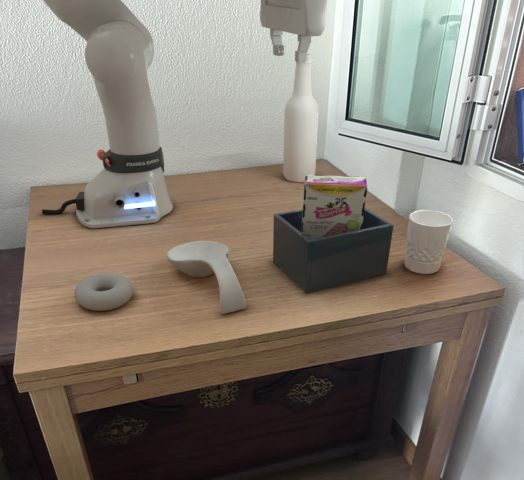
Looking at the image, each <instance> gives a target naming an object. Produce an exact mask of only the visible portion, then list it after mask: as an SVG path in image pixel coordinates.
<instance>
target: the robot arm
mask: <svg viewBox="0 0 524 480" xmlns="http://www.w3.org/2000/svg"><path fill="white" fill-rule="evenodd" d="M42 1H43V2H44V4H45V5H46V6H47V7H48V8H49V9H50V10H51V12H52V13H53V14H54V15H55V16H56V18H57V19H58V20H60V21H61V22H62V23H64V24H66V25H67V26H68V27H70V29H72V30H73V31H74V32H76V34H78V35H79V36H80V37H81V38H82V39H83V40H85V41H86V45H85V49H84V59H85V64H86V66H87V69H88V70H89V73H90V74H91V76H92V79H93V83H94V86H95V89H96V92H97V95H98V98H99V101H100V104H101V108H102V111H103V115H104V121H105V126H106V133H107V139H108V144H109V145H108V146H109V149H108V150H107V151H105V150H104V149H98V150H97V152H96V156H97V157H98V159H99V160H100V161H102V165H103V168H102V169H101V170H100V171H99V172H98V173H97V174H96V175H95V176H94V177H93V178H92V179H91V180H90V181H89V182H88V183H87V184H86V186H85V187H84V191H78V193H77V195H76V197H75V198H73V199H69V200H66V201H64V202H63V203H62V204H61V206H60V208H58V209H43V208H42V209H41V213H42V214H43V215H59V214H62V213H64V212H65V211H66V208H67V207H68V206H71V205H73V204H75V206H76V211H75V212H76V213H75V214H76V218H77V221H78V222H79V223H80V224H81V225H82V226H84V227H86V228H89V229H103V228H112V227H113V228H114V227H124V226H125V227H126V226H133V225H134V226H135V225H145V224H146V225H147V224H154V223H158V222H159V221H160V220H161V218H162V217H164V216H166V215H168V214H169V213H171V212H172V211H173V209H174V205H173V202H172V200H171V197H170V194H169V190H168V187H167V186H168V185H167V182H166V178H165V159H164V151H163V147H161V144H160V134H159V124H158V116H157V109H156V106H155V104H154V101H153V97H152V96H153V95H152V92H151V88H150V83H149V79H148V69H149V68H150V67H151V65H152V63H153V61H154V59H155V58H154V57H155V42H154V39H153V36H152V34H151V32H150V30H149V28H147V26H145V25H144V24H143V23H142V22H141V20H140V19H139V18H138V17H137V16H136V15H135V14H134V13H133V11H132V10H130V8H129V7H128V6H127V5H126V4H125V3H124V2H123V0H42ZM327 9H328V0H260V9H259V20H260V24H261V27H262V28H264V29H265V28H266V29H269V36H270V39H271V45H272V54H273V55H274V56H275V57H283V56H284V55H285V45H283V38H282V36H283V33H287V34H288V33H289V34H293V35H297V42H298V44H297V50H294V61H296V62H299V63H303V62H306V60H307V54H308V51H309V48H310V46H311V43H312V37H321V36H322V35H323V33H324V31H325V27H326V23H327V22H326V21H327V11H328V10H327ZM296 62H295V63H296Z"/></svg>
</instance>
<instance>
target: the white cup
mask: <svg viewBox="0 0 524 480" xmlns="http://www.w3.org/2000/svg"><path fill="white" fill-rule="evenodd" d="M453 222H454V218H453V217H452V216H451V215H449V214H448V213H445V212H443V211H438V210H434V209H433V210H432V209H420V210H415V211H412V212H411V213H409V216H408V223H407V231H406V238H405V239H406V240H405V255H404V260H403V261H404V262H403V264H404V267H405V268H406V269H407V270H408V271H410V272H412V273H416V274H420V275H421V274H422V275H431V274H434V273H437V272H439V270H440V268H441V264H442V260H443V257H444V256H445V251H446V248H447V245H448V241H449V237H450V234H451V231H452V226H453Z"/></svg>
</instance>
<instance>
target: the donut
mask: <svg viewBox="0 0 524 480" xmlns="http://www.w3.org/2000/svg"><path fill="white" fill-rule="evenodd" d="M133 294H134V285H133V284H132V282H131V280H130V279H128V278H127V277H126V276H124V275H122V274H119V273H116V272H115V273H114V272H102V273H97V274H92V275H88V276H87V277H85V278H83V279H81V281H79V282H78V283H77V285H76V286H75V289H74V299H75V301H76V302H77V304H78V305H79V306H81V307H82V308H85V309H86V310H90V311H95V312H103V311H111V310H114V309H118V308H120V307H122V306H124V305H126V303H127V302H129V301H130V300H131V298H132V296H133Z"/></svg>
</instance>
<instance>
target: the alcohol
mask: <svg viewBox="0 0 524 480" xmlns="http://www.w3.org/2000/svg"><path fill="white" fill-rule="evenodd" d="M312 58H313V55H312V54H310V53H307V60H306V62H303V63H299V62H296V61H295V60H294V61H295V70H294V79H293V88H292V94H291V96H290V97H289V99H288V100H287V102H286V103H285V108H284V117H283V118H284V120H283V121H284V123H283V163H282V165H283V167H282V168H283V169H282V175H283V177H284V179H285V180H287V181H288V182H292V183H305V175H316V169H317V150H318V133H319V132H318V131H319V115H320V114H319V113H320V109H319V103H318V102H317V100H316V99H315V97H314V95H313V89H312V88H313V87H312V84H313V83H312V63H313V60H312Z"/></svg>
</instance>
